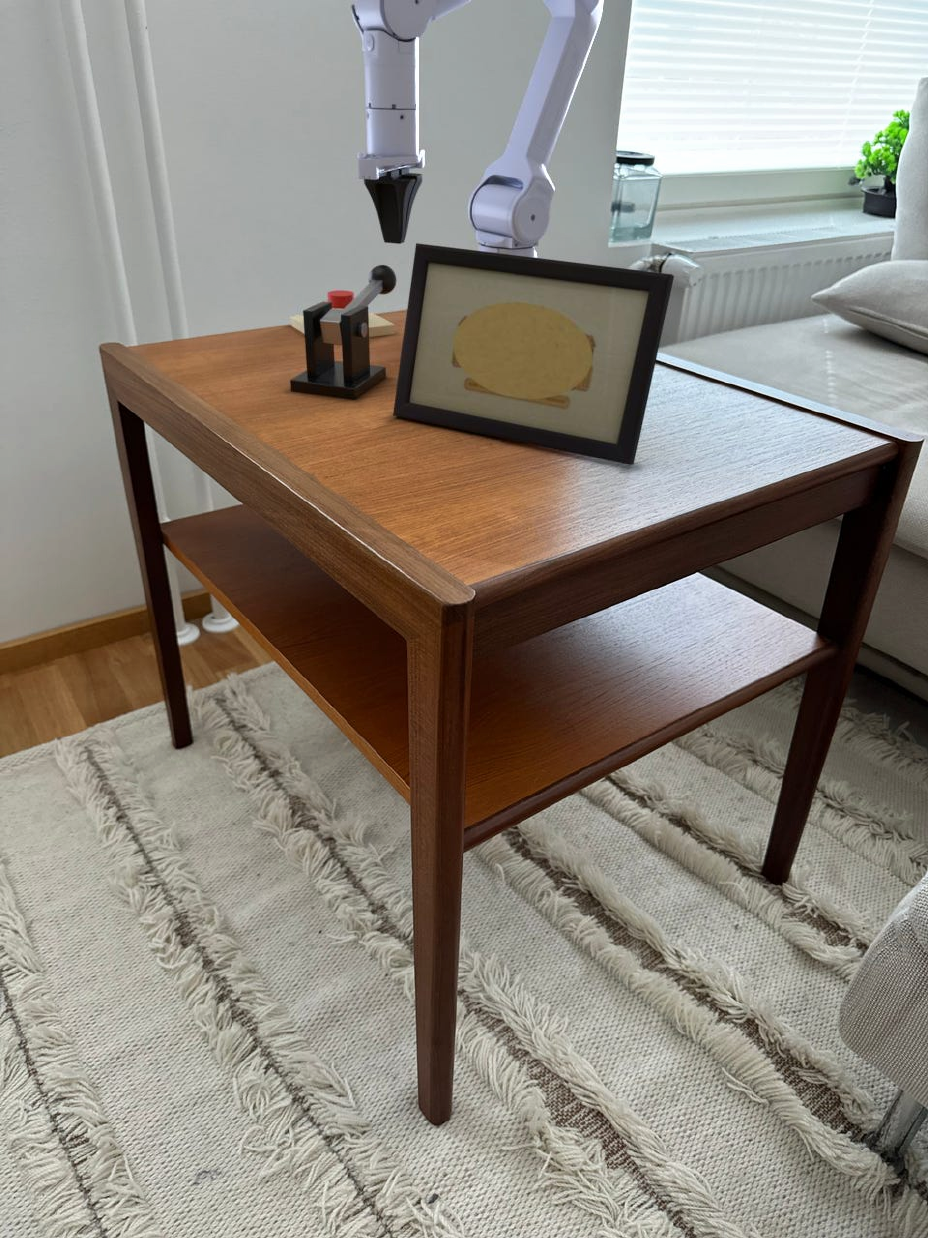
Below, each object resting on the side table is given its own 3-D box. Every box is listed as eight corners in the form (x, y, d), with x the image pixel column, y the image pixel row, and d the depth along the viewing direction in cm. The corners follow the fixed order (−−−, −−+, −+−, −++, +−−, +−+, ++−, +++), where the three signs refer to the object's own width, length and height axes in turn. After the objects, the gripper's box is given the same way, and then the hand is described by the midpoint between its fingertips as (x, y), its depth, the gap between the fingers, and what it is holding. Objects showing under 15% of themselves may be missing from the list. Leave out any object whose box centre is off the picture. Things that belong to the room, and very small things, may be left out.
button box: (364, 317, 115) (363, 293, 114) (395, 334, 109) (394, 308, 107) (290, 325, 111) (288, 300, 109) (318, 343, 104) (316, 317, 103)
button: (348, 303, 110) (347, 289, 109) (358, 309, 108) (358, 294, 107) (324, 306, 109) (323, 291, 108) (334, 312, 107) (333, 296, 106)
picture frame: (391, 417, 83) (399, 243, 76) (438, 402, 90) (449, 242, 84) (628, 467, 74) (660, 275, 68) (659, 446, 81) (690, 271, 75)
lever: (376, 286, 99) (373, 259, 97) (401, 289, 98) (399, 261, 96) (319, 345, 89) (314, 316, 87) (346, 348, 88) (343, 319, 86)
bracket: (325, 370, 96) (321, 296, 92) (386, 378, 94) (384, 303, 90) (290, 391, 89) (284, 313, 85) (354, 400, 87) (351, 320, 83)
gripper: (384, 104, 104) (386, 230, 111) (329, 108, 92) (336, 249, 99) (441, 107, 102) (440, 234, 109) (392, 111, 90) (394, 254, 98)
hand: (394, 242), depth 104 cm, fingers closed
